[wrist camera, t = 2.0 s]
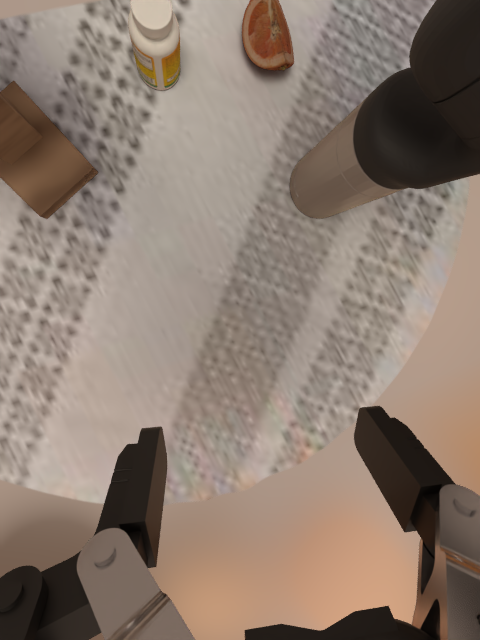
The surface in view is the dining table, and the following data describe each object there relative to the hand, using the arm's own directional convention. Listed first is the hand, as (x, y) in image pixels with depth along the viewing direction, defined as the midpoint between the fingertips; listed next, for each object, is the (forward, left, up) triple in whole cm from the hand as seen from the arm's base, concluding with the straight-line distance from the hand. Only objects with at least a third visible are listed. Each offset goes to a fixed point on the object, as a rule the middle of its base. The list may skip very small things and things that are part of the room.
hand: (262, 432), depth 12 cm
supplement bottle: (+5, -32, -34) cm, 47 cm away
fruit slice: (-9, -35, -34) cm, 50 cm away
